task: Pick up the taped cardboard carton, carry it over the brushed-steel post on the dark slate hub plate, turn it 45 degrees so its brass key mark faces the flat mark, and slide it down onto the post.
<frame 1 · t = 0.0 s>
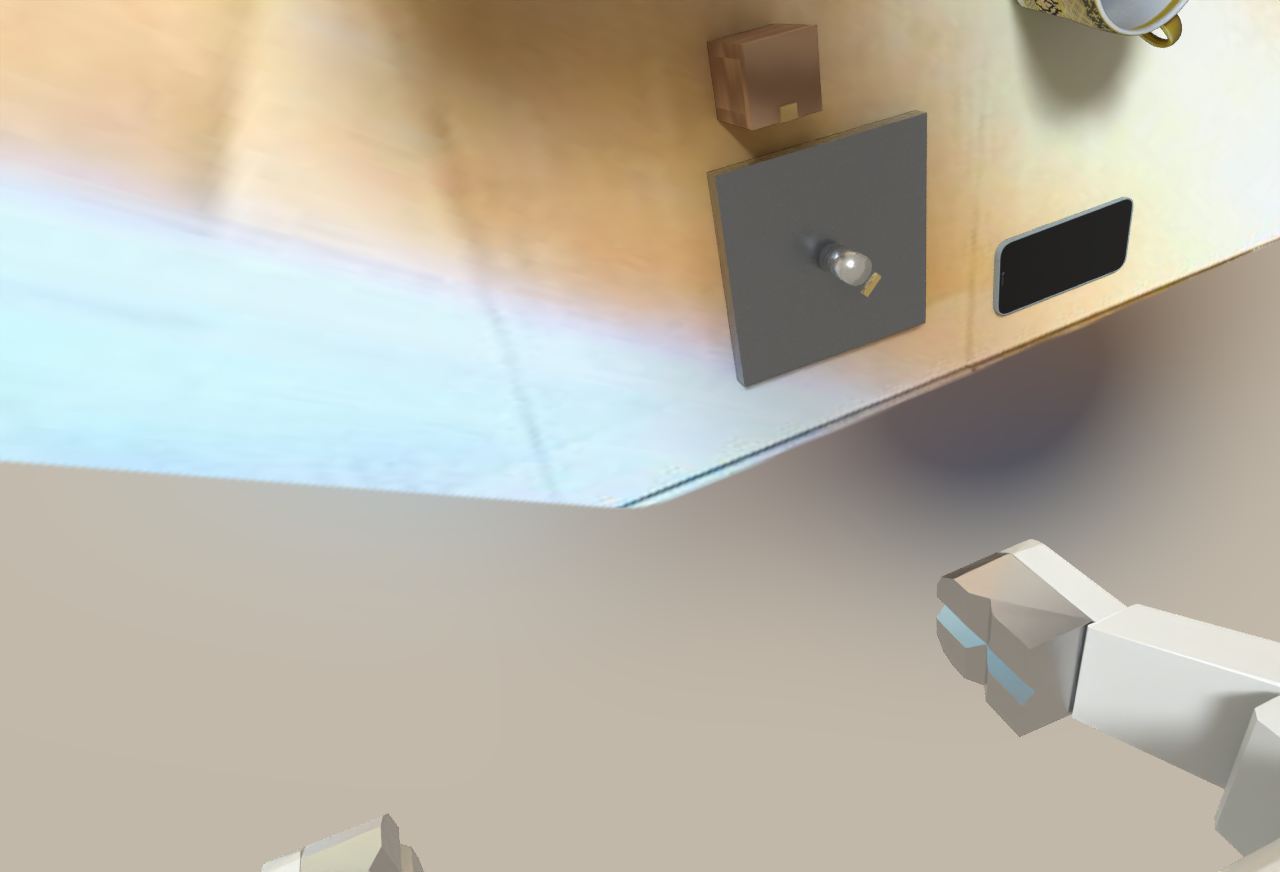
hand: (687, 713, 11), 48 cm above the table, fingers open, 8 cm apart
hub plate: (821, 252, 64), on the table
smartphone: (1056, 254, 73), on the table
taped cardboard carton: (745, 72, 55), on the table
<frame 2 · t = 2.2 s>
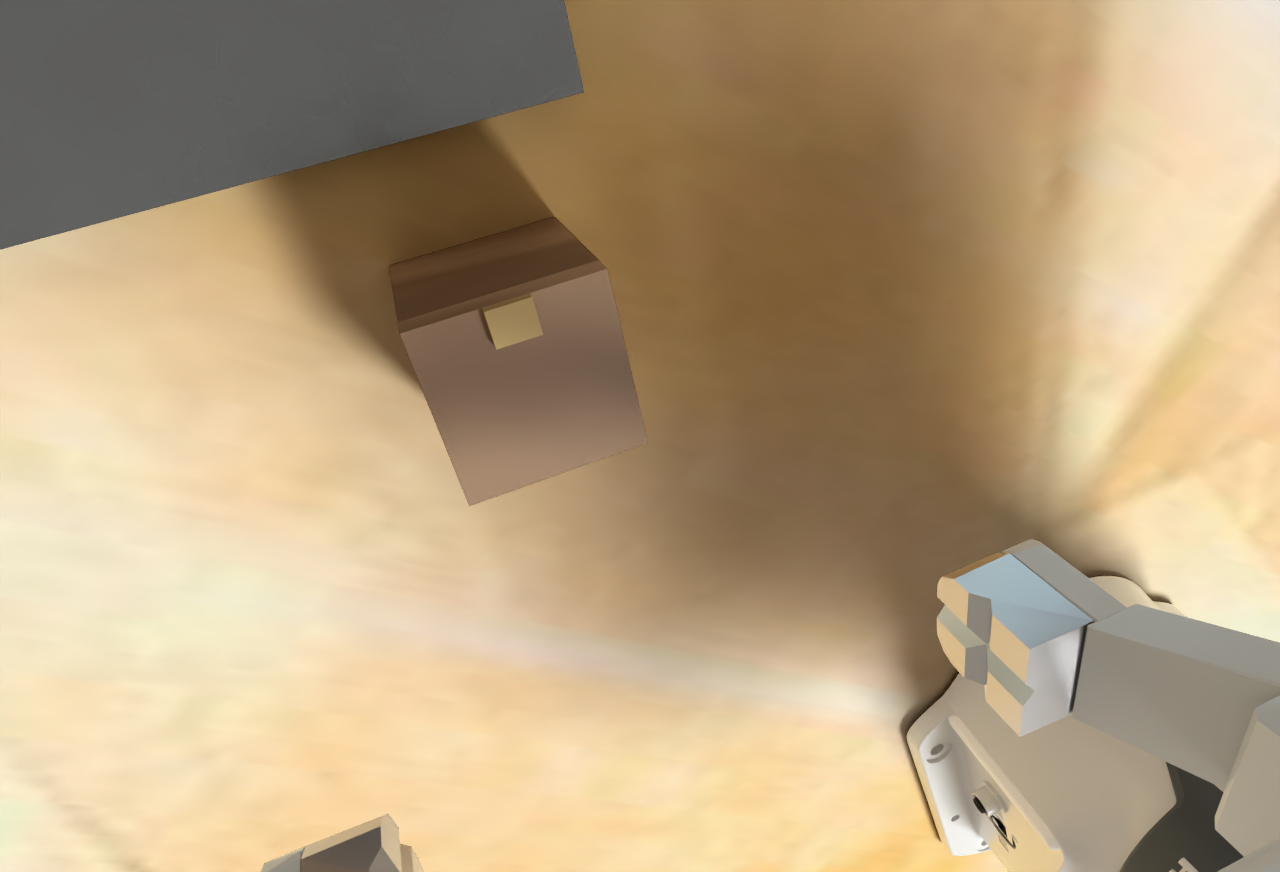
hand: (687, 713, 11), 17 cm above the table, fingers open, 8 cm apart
taped cardboard carton: (498, 318, 25), on the table
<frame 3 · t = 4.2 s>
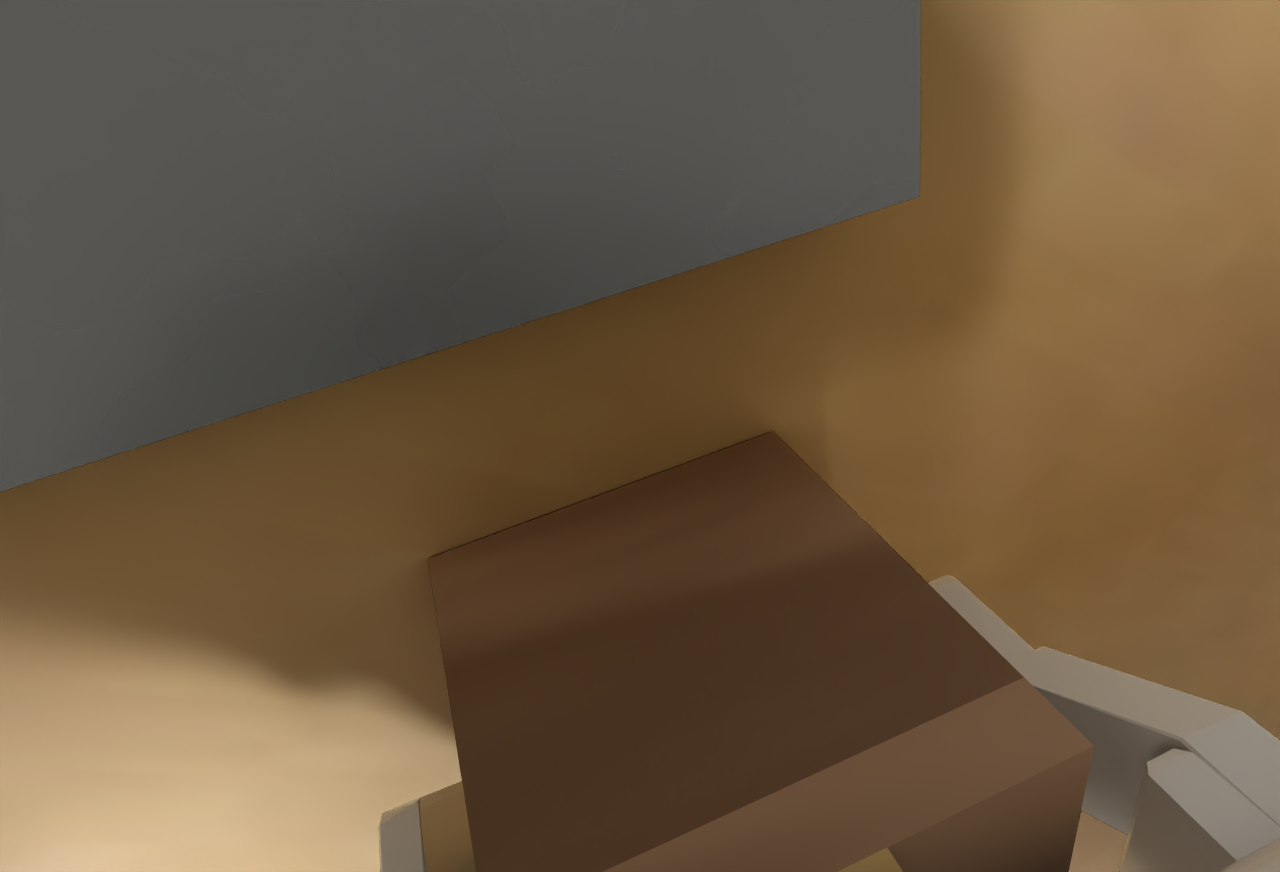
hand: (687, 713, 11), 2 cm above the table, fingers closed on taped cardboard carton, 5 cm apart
taped cardboard carton: (643, 620, 12), on the table, touching gripper
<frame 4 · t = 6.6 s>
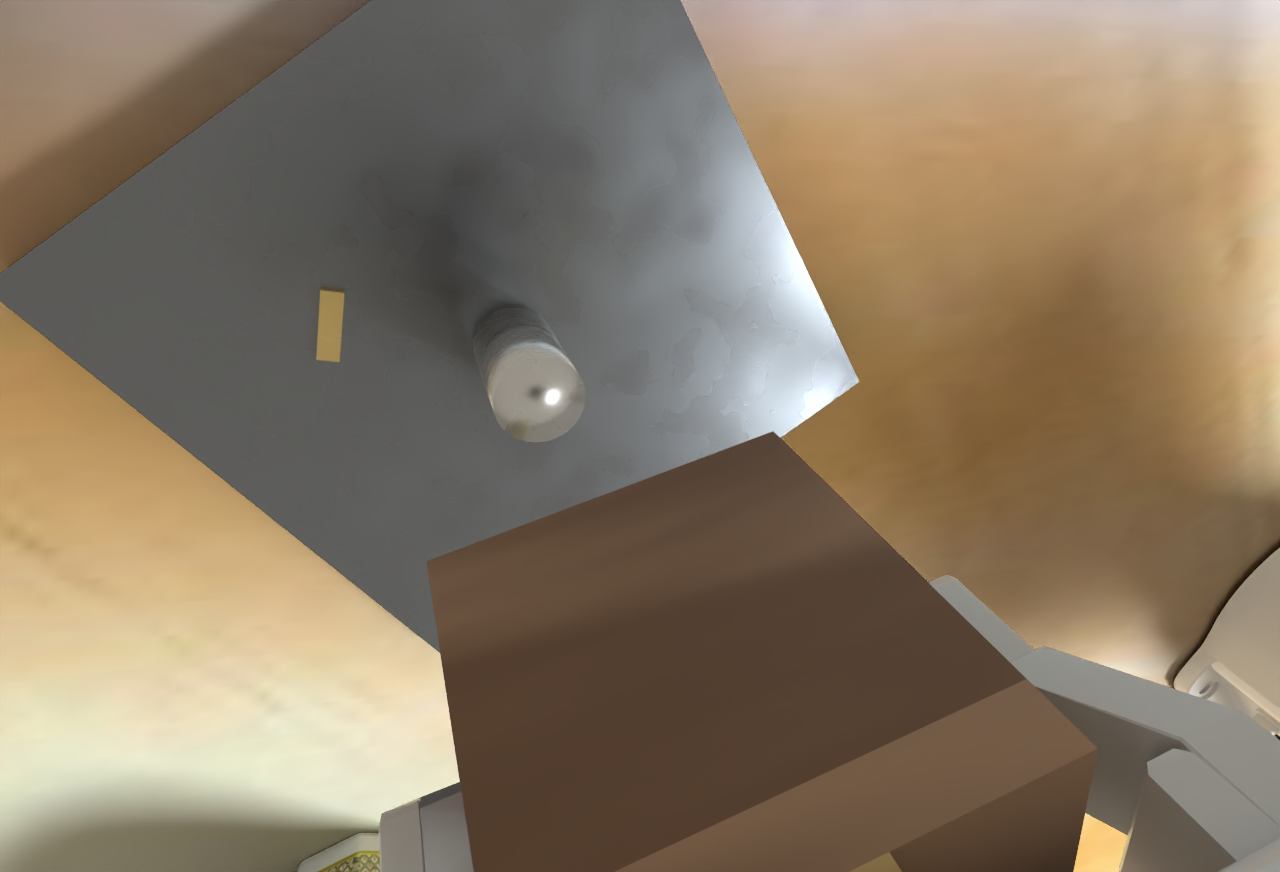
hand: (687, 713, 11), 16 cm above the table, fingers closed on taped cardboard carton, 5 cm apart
hub plate: (505, 327, 24), on the table
taped cardboard carton: (643, 621, 12), point 14 cm above the table, touching gripper
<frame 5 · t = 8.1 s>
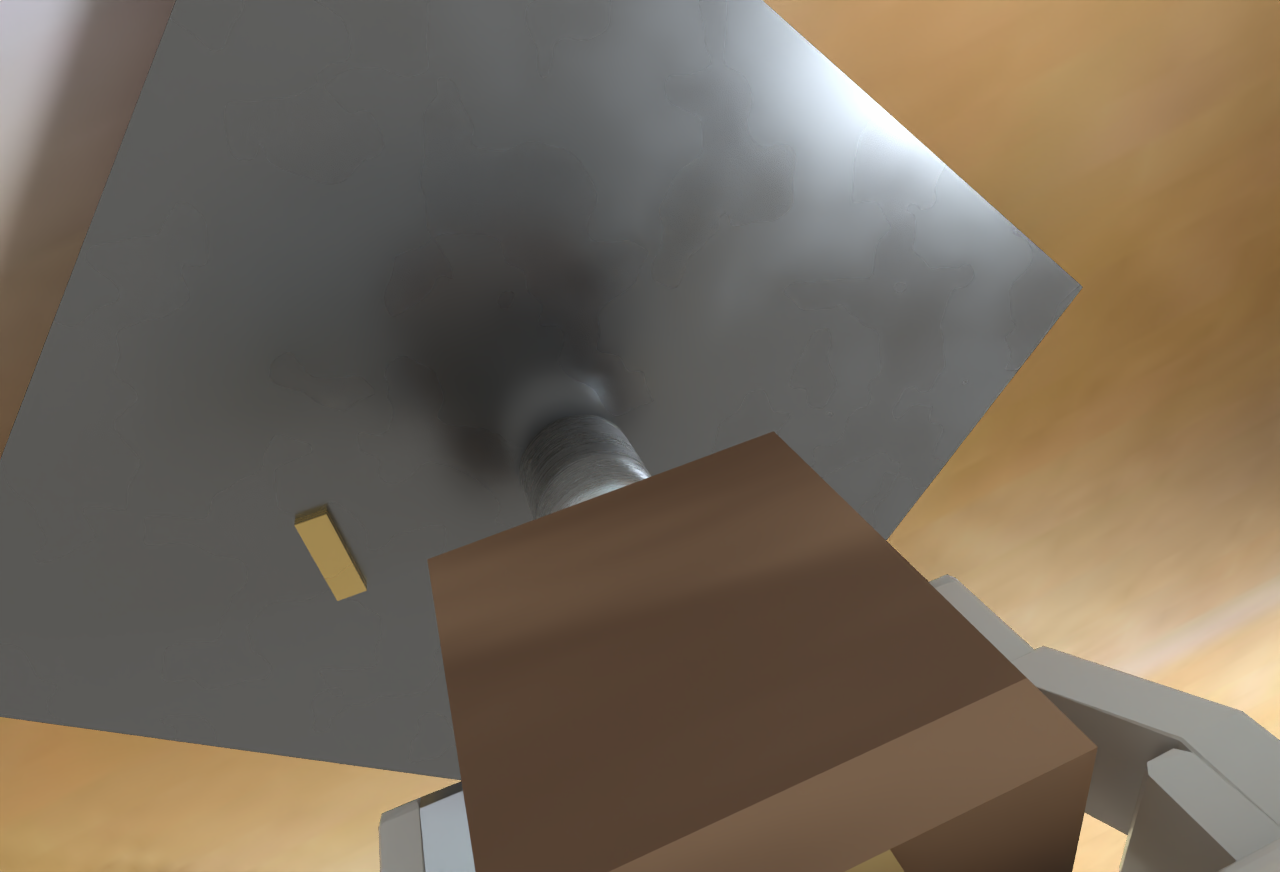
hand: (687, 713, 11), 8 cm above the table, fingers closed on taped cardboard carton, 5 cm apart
hub plate: (559, 433, 17), on the table
taped cardboard carton: (643, 621, 12), point 6 cm above the table, touching gripper
when the fingers open (4 cm above the table, at t = 9.4 s): taped cardboard carton stays where it is, resting on hub plate.
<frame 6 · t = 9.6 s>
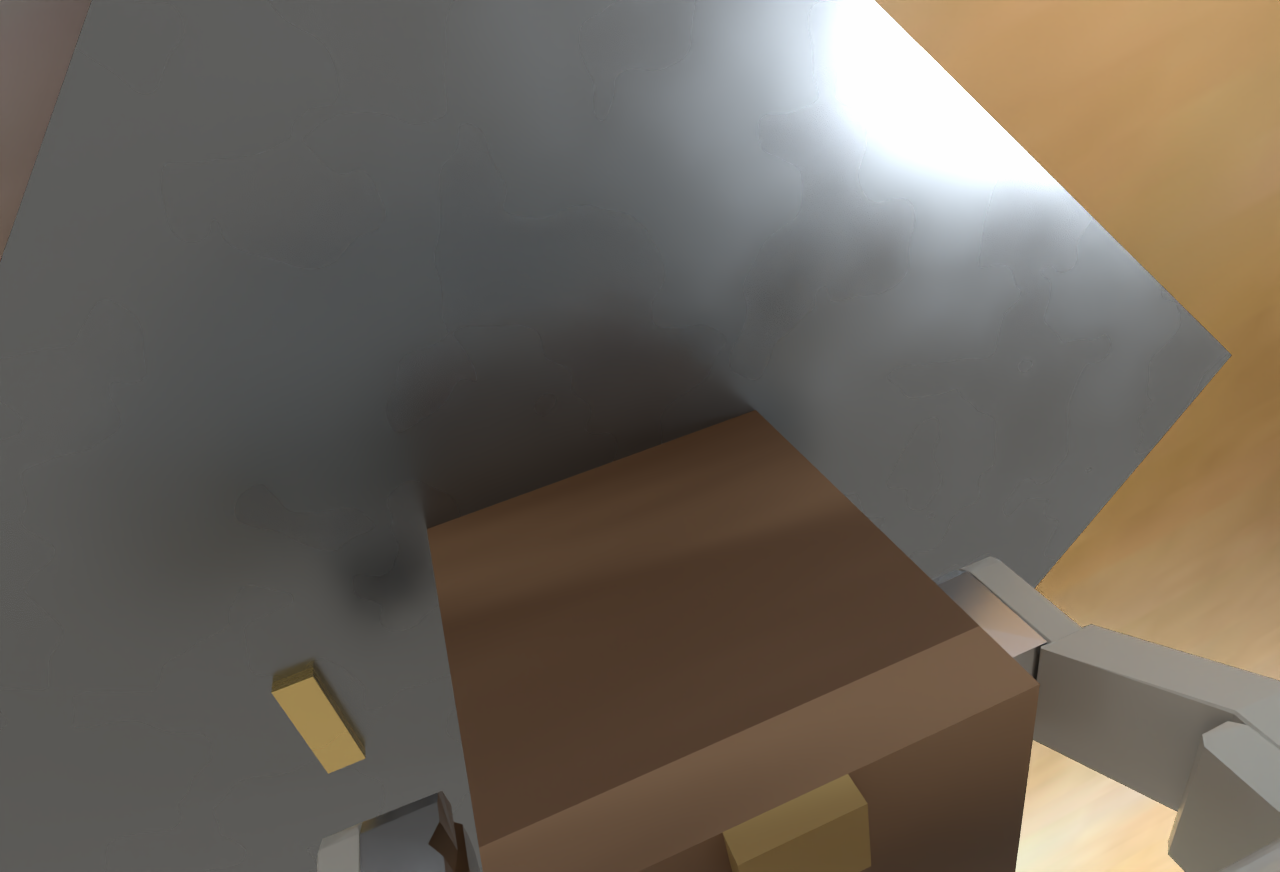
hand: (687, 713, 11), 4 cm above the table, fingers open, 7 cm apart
hub plate: (601, 543, 14), on the table
taped cardboard carton: (632, 592, 13), point 1 cm above the table, touching hub plate
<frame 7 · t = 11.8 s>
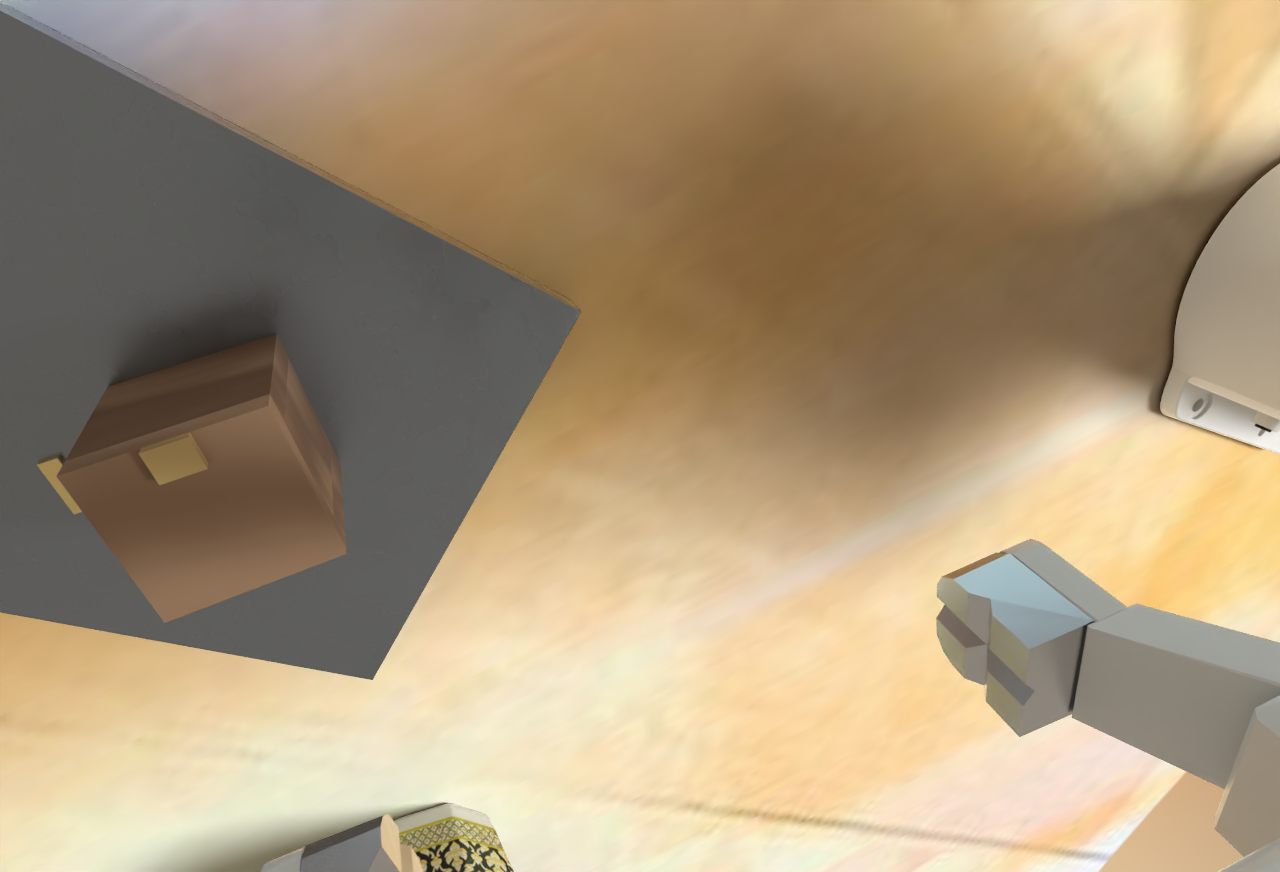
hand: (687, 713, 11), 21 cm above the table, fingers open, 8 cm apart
hub plate: (233, 411, 27), on the table
ceramic cup: (400, 854, 40), on the table
taped cardboard carton: (232, 427, 26), point 1 cm above the table, touching hub plate
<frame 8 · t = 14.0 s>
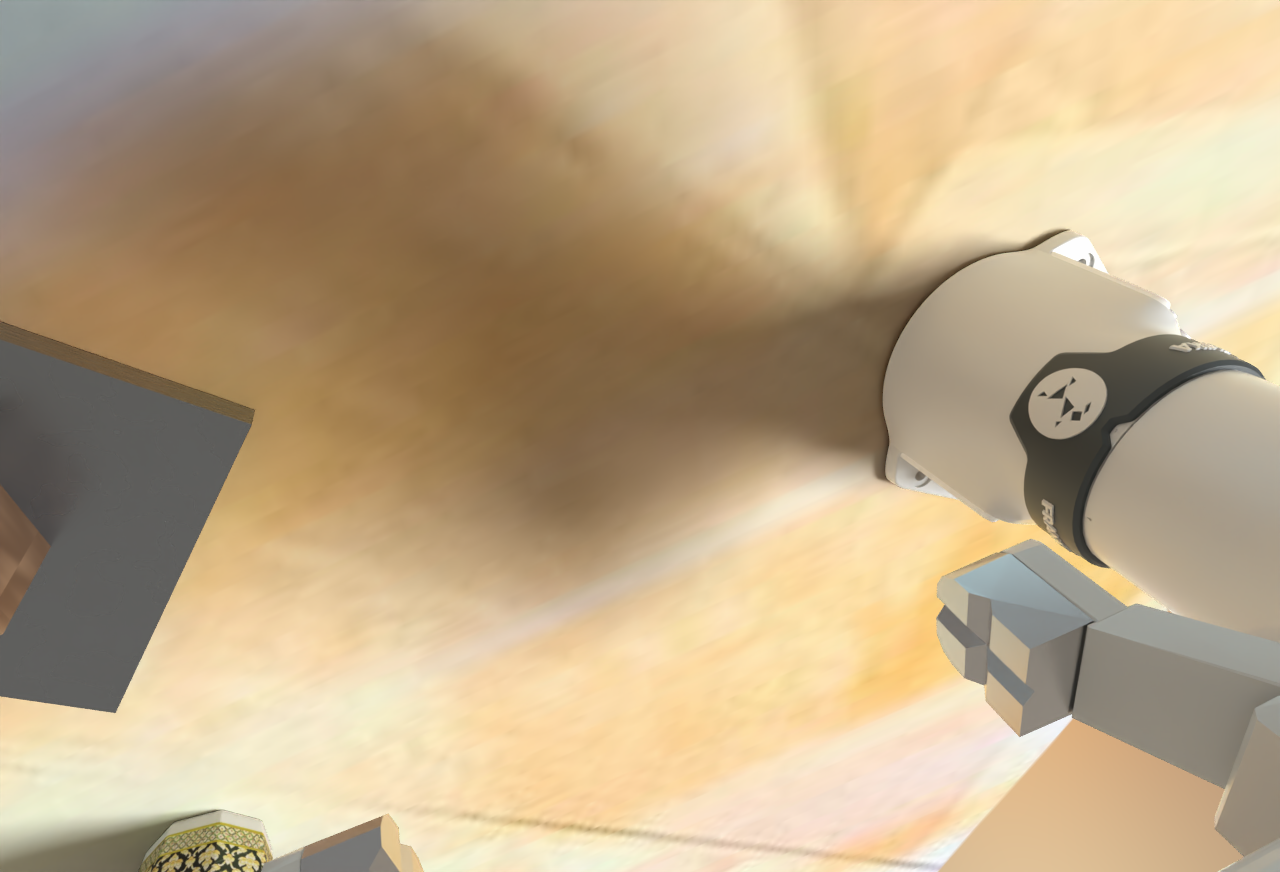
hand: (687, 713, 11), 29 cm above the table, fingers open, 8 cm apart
ceramic cup: (184, 851, 47), on the table
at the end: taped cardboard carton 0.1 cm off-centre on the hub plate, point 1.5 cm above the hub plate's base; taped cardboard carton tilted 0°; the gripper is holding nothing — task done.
